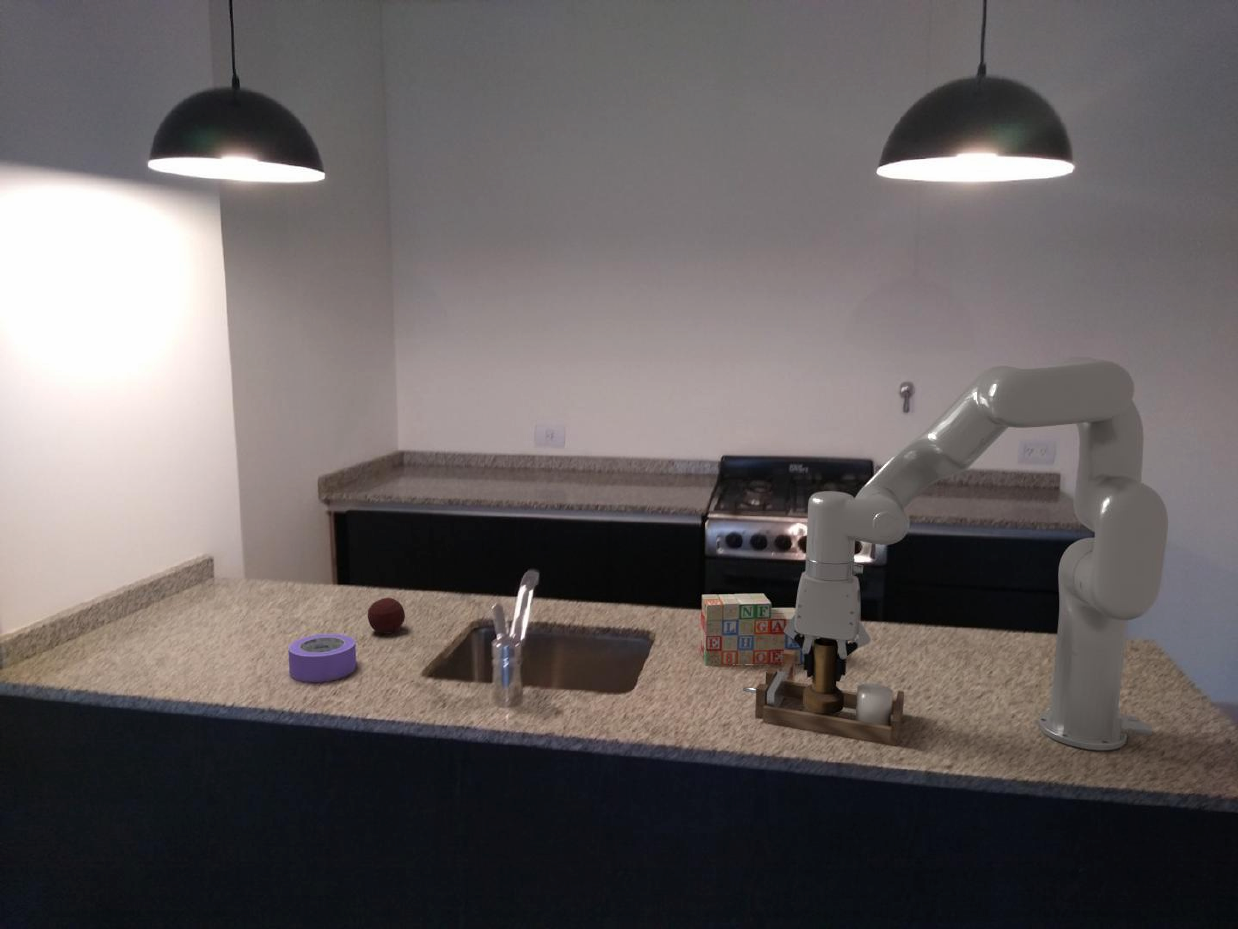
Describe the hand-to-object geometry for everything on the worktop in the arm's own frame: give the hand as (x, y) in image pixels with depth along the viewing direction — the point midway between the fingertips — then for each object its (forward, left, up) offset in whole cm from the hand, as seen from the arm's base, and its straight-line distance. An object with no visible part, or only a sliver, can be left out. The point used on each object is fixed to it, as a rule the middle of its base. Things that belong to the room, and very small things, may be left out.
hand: (824, 675), depth 147 cm
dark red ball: (+90, -5, -7) cm, 90 cm away
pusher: (+10, -3, -7) cm, 13 cm away
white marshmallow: (-8, 0, -7) cm, 11 cm away
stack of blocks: (+16, -20, -7) cm, 27 cm away
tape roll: (+89, +16, -8) cm, 90 cm away
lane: (-1, 0, -7) cm, 7 cm away
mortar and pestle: (0, 0, -5) cm, 5 cm away
